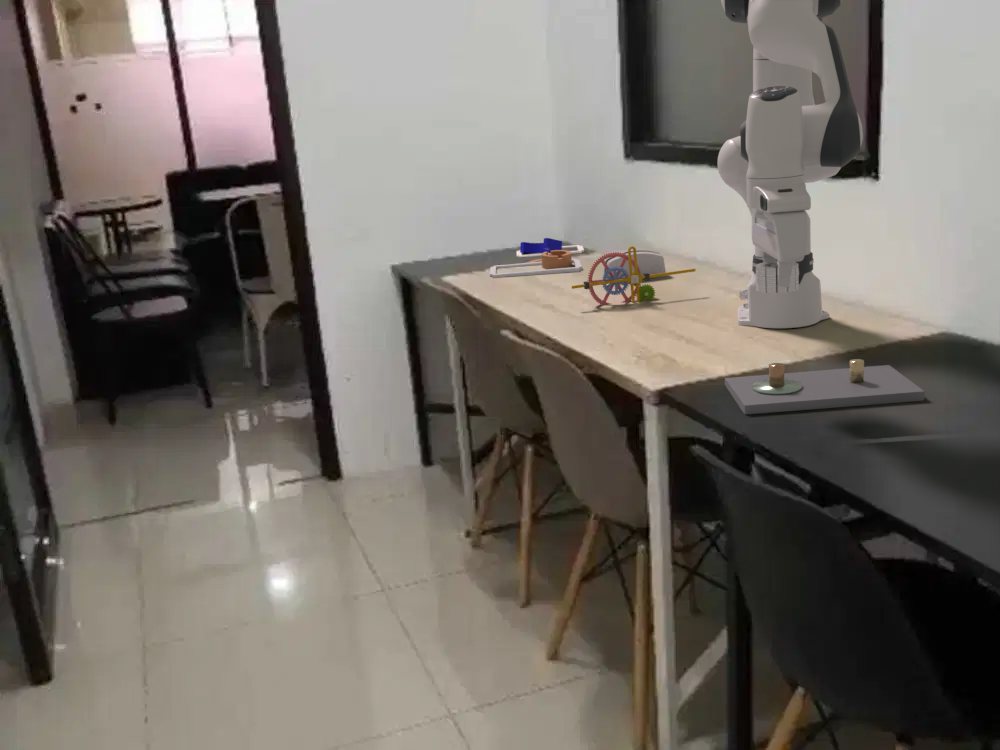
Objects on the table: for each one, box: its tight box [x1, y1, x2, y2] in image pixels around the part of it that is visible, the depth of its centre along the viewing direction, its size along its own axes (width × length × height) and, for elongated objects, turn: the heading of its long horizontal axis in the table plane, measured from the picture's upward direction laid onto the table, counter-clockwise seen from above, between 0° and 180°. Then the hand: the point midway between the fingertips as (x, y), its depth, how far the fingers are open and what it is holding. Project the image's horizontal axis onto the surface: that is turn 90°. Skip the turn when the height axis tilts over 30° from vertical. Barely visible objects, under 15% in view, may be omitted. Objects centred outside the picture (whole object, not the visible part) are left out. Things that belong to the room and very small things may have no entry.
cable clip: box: [519, 237, 563, 254], centre depth 315 cm, size 12×4×6 cm
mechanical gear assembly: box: [571, 246, 696, 306], centre depth 244 cm, size 30×4×15 cm, turn 102°
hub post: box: [752, 362, 802, 395], centre depth 172 cm, size 8×8×4 cm
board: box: [724, 364, 925, 415], centre depth 172 cm, size 16×28×2 cm, turn 89°
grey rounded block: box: [602, 249, 667, 279], centre depth 271 cm, size 17×5×10 cm, turn 100°
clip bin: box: [516, 244, 585, 259], centre depth 318 cm, size 12×20×4 cm, turn 89°
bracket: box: [527, 249, 573, 270], centre depth 298 cm, size 18×8×7 cm, turn 22°
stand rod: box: [849, 358, 865, 383], centre depth 171 cm, size 2×2×4 cm
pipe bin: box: [489, 258, 583, 279], centre depth 292 cm, size 15×25×4 cm, turn 89°
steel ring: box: [756, 261, 799, 294], centre depth 167 cm, size 6×6×4 cm
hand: (777, 281), depth 167 cm, fingers closed on steel ring, 6 cm apart
